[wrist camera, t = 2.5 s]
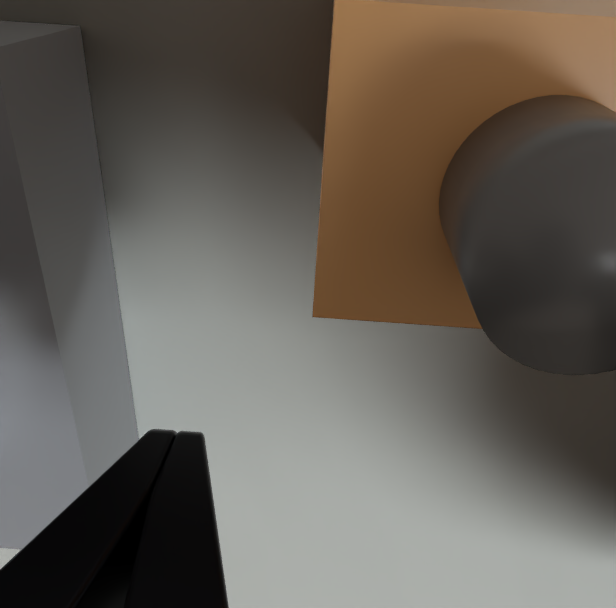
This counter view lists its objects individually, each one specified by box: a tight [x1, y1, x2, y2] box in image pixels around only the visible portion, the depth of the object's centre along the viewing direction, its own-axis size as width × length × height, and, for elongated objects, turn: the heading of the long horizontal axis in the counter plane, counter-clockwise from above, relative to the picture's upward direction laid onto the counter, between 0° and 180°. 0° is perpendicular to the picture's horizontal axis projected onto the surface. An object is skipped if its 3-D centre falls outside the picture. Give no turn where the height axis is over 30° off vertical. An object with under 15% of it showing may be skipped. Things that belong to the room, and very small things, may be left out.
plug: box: [313, 0, 616, 375], centre depth 7 cm, size 4×3×8 cm
